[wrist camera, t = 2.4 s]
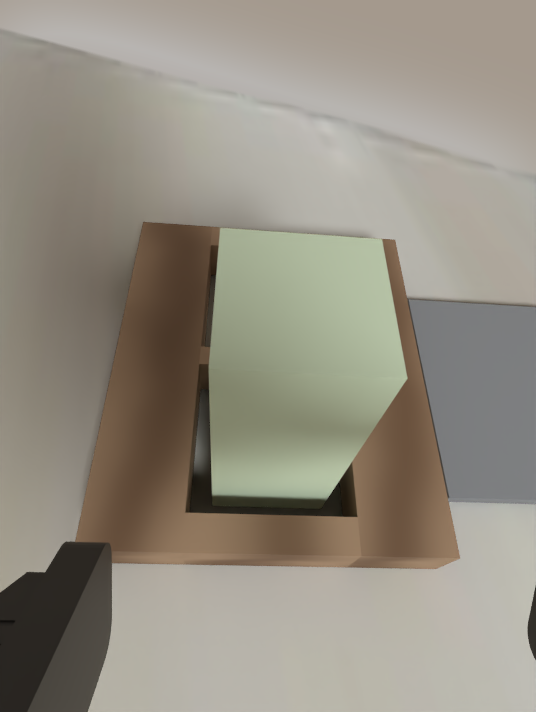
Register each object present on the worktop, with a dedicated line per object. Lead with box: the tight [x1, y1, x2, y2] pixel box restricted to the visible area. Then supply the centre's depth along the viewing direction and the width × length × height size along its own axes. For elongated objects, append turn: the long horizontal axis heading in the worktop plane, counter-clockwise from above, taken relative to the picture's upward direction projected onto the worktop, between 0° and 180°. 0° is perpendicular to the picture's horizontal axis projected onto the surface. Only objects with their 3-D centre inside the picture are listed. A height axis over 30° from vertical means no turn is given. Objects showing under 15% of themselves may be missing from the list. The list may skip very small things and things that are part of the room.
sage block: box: [209, 228, 407, 509], centre depth 18 cm, size 5×5×12 cm
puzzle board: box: [75, 222, 460, 569], centre depth 24 cm, size 15×18×2 cm
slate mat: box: [408, 299, 536, 504], centre depth 26 cm, size 9×12×1 cm
